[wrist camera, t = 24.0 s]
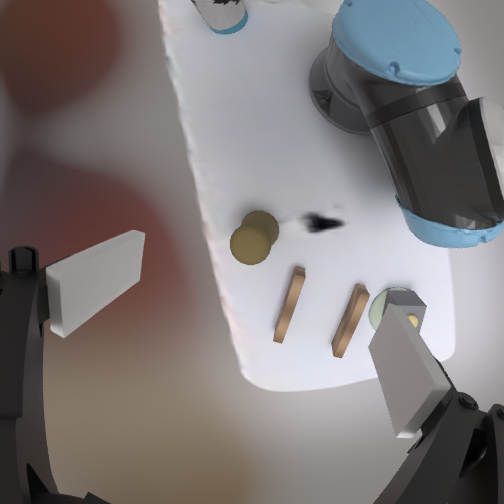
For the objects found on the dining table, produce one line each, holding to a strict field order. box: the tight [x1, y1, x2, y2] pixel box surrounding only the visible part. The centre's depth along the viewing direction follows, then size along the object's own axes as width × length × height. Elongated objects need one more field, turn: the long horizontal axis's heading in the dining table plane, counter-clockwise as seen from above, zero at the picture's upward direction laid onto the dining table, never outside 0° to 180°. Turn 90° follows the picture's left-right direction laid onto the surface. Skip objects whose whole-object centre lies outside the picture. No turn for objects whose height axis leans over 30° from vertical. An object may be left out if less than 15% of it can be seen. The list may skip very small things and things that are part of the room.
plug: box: [382, 290, 427, 333], centre depth 42 cm, size 5×5×7 cm
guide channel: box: [273, 266, 370, 358], centre depth 46 cm, size 12×12×4 cm
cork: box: [230, 211, 279, 265], centre depth 41 cm, size 6×6×11 cm
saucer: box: [369, 287, 409, 331], centre depth 46 cm, size 9×9×1 cm
